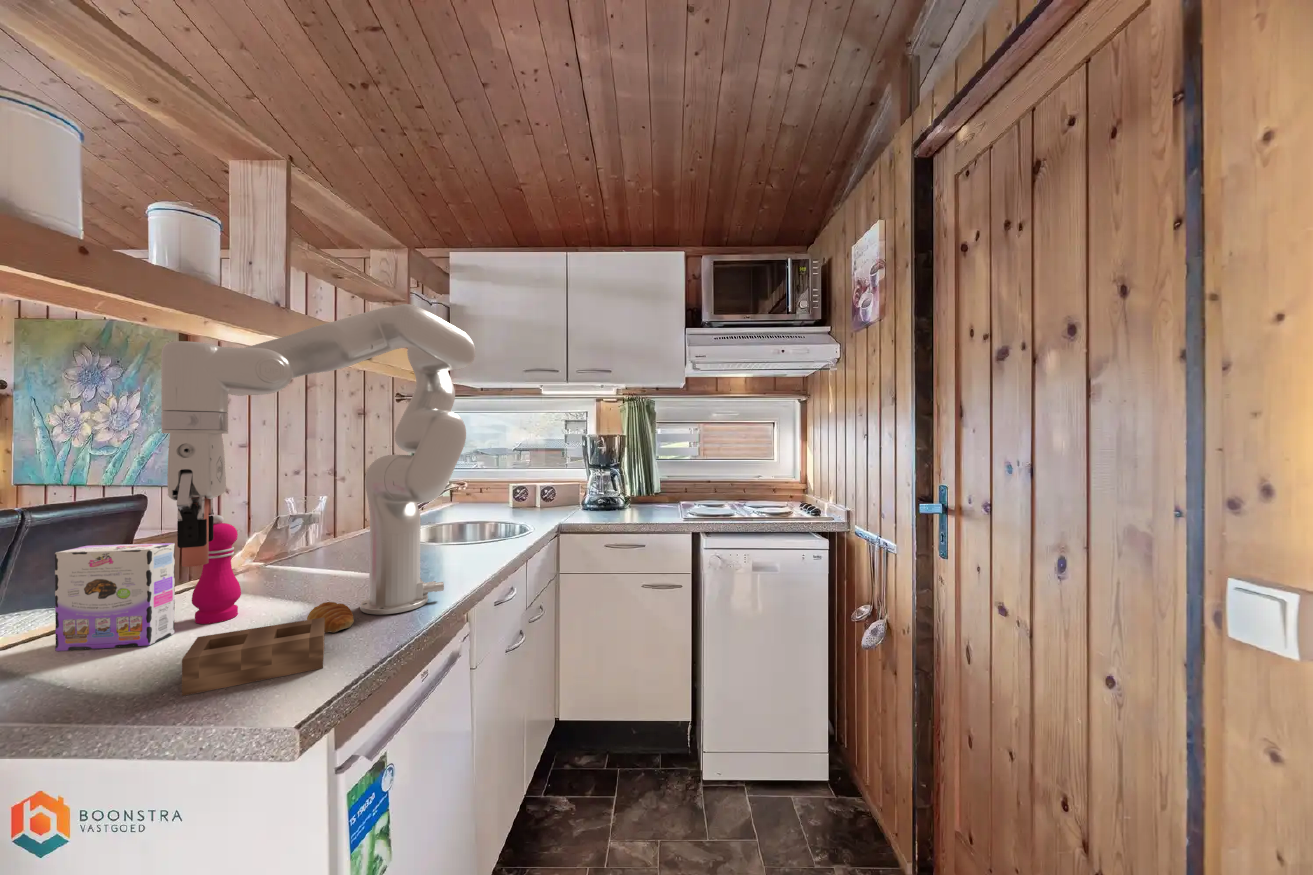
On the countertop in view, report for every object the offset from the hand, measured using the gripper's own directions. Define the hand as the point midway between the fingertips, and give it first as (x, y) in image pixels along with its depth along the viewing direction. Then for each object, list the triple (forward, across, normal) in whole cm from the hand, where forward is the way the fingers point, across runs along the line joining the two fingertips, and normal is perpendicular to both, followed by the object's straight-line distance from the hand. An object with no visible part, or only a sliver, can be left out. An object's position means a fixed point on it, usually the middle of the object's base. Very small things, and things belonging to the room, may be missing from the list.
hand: (196, 543), depth 77 cm
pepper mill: (+19, +25, +3) cm, 32 cm away
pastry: (+20, +11, -17) cm, 28 cm away
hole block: (+19, -6, -9) cm, 22 cm away
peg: (+3, 0, 0) cm, 3 cm away
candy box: (+19, +18, +14) cm, 30 cm away
